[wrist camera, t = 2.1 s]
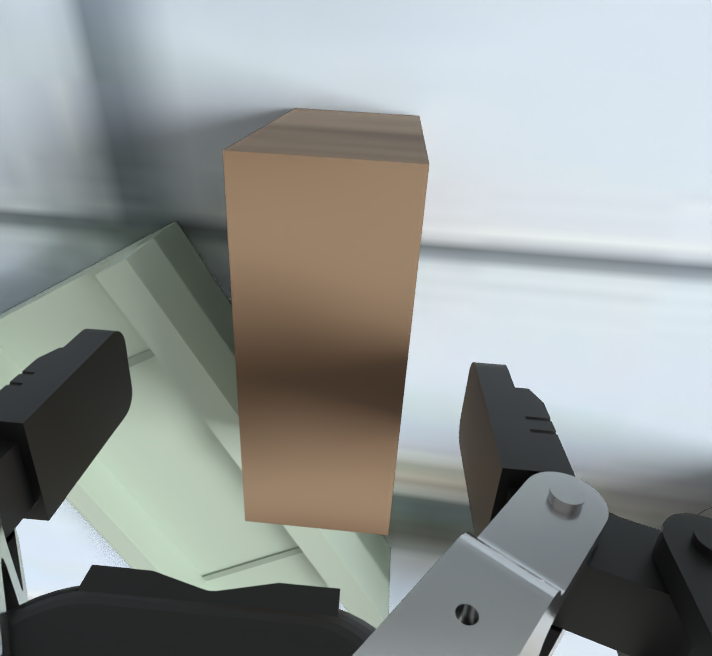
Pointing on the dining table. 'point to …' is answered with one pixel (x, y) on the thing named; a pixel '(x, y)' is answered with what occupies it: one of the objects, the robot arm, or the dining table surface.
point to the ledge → (182, 433)
